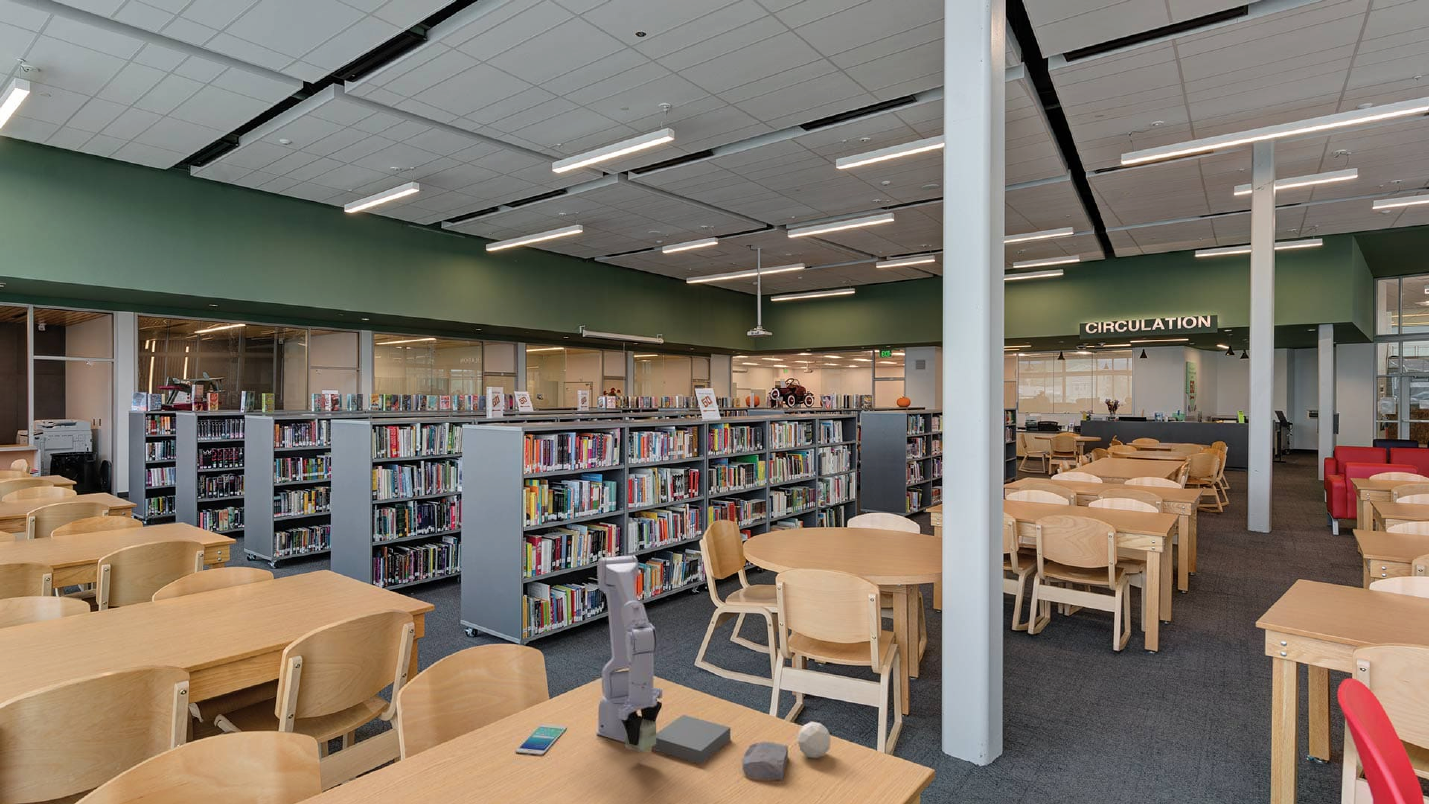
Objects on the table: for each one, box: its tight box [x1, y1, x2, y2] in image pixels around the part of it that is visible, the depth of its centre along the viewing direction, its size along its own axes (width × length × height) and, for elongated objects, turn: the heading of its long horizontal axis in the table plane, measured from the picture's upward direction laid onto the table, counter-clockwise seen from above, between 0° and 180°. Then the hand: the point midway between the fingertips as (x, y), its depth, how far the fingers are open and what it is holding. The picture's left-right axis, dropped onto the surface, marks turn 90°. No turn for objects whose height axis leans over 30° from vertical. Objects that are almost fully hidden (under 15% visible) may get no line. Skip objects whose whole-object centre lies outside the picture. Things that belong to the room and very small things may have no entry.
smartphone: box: [515, 723, 568, 756], centre depth 175 cm, size 8×1×15 cm
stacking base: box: [650, 714, 731, 765], centre depth 173 cm, size 14×14×3 cm
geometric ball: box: [797, 721, 832, 759], centre depth 167 cm, size 8×8×8 cm
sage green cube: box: [625, 719, 657, 754], centre depth 163 cm, size 5×5×5 cm
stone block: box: [742, 741, 789, 782], centre depth 162 cm, size 12×5×10 cm
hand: (640, 739), depth 163 cm, fingers closed on sage green cube, 5 cm apart
